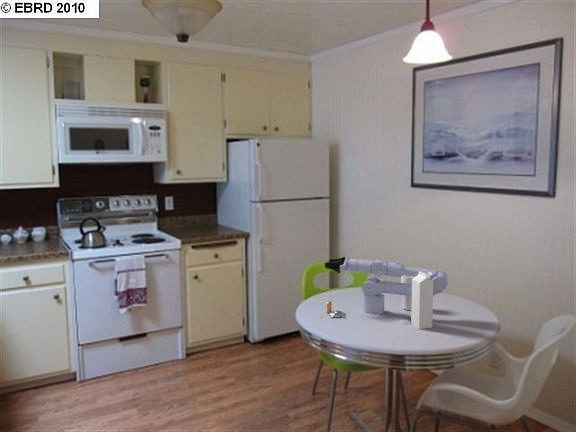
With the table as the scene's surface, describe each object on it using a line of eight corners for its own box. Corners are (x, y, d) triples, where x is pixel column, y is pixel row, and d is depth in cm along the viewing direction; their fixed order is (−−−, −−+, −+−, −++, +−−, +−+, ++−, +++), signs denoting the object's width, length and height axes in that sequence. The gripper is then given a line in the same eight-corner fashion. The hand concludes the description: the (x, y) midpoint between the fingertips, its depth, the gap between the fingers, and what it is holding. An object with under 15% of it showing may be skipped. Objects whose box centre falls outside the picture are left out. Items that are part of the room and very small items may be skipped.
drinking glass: (399, 310, 215) (399, 277, 214) (401, 305, 222) (402, 273, 220) (415, 311, 213) (415, 278, 211) (417, 307, 219) (417, 274, 217)
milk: (419, 329, 191) (419, 274, 188) (410, 324, 196) (411, 271, 194) (432, 327, 192) (433, 273, 190) (424, 322, 198) (425, 270, 196)
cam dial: (351, 316, 204) (351, 304, 203) (338, 320, 198) (338, 308, 198) (333, 310, 211) (333, 299, 211) (320, 314, 206) (320, 303, 205)
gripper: (360, 254, 217) (331, 252, 221) (355, 259, 203) (323, 257, 207) (360, 269, 217) (330, 267, 221) (354, 276, 204) (322, 273, 208)
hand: (327, 263), depth 214 cm, fingers open, 7 cm apart
